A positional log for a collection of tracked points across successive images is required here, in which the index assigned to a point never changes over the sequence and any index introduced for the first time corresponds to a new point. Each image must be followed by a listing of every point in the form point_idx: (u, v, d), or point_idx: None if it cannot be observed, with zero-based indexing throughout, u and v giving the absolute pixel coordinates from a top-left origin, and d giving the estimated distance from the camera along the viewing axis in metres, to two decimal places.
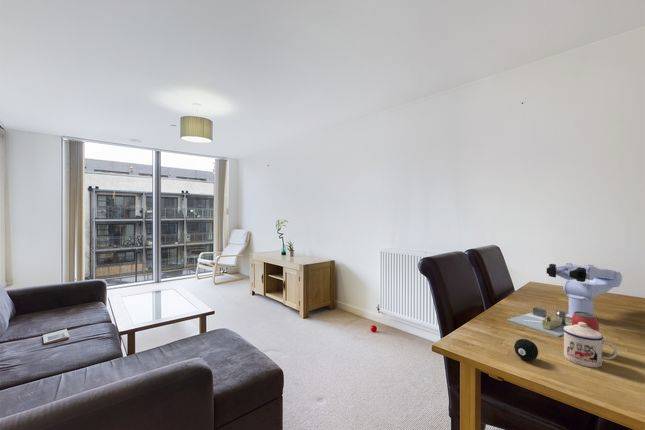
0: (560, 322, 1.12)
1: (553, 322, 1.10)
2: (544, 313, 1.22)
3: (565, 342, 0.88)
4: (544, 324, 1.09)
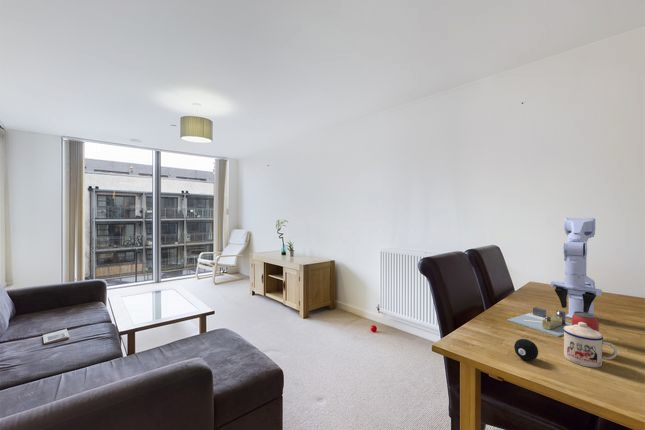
0: (560, 322, 1.12)
1: (553, 322, 1.10)
2: (544, 313, 1.22)
3: (565, 342, 0.88)
4: (544, 324, 1.09)
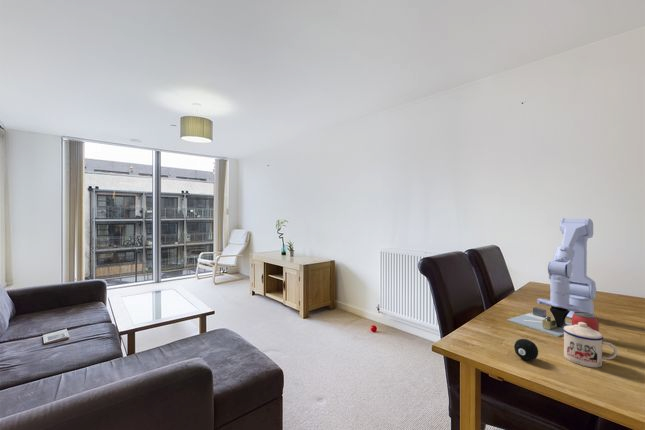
0: None
1: (553, 322, 1.10)
2: (544, 313, 1.22)
3: (565, 342, 0.88)
4: (544, 324, 1.09)
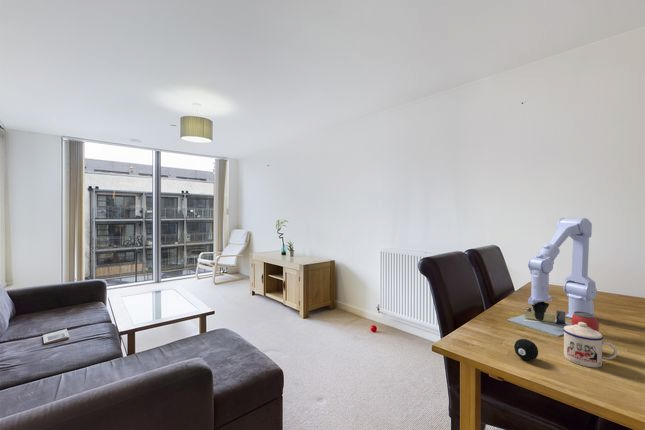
0: (550, 319, 1.16)
1: (534, 314, 1.18)
2: None
3: (565, 342, 0.88)
4: None
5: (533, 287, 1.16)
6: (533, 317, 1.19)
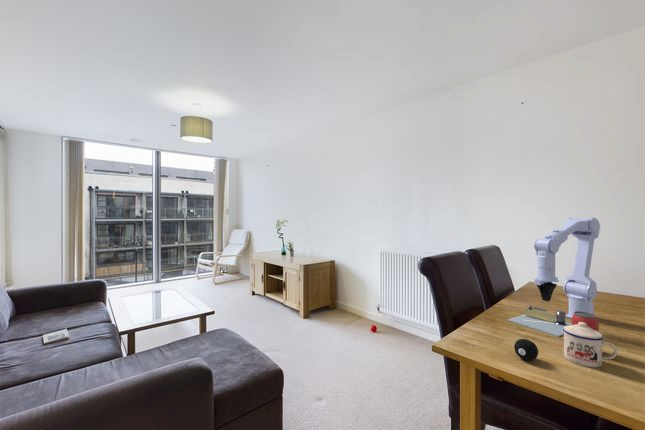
0: (549, 318, 1.17)
1: (534, 312, 1.21)
2: None
3: (565, 342, 0.88)
4: None
5: (539, 268, 1.15)
6: (533, 315, 1.21)
